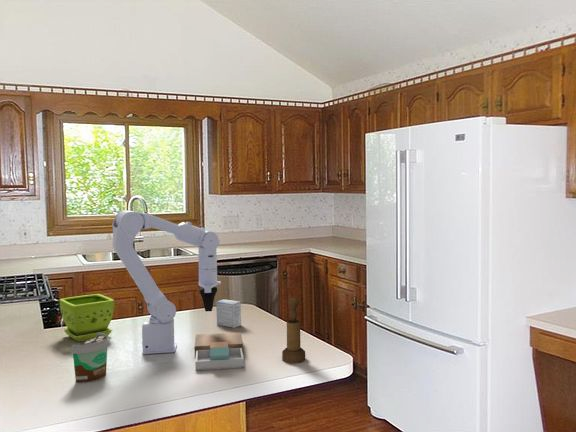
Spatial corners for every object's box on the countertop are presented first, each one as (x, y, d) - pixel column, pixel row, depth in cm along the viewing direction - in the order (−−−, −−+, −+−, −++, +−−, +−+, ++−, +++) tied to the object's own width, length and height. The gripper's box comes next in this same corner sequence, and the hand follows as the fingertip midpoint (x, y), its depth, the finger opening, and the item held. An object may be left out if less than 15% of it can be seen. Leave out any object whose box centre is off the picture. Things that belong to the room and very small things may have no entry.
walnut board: (194, 358, 150) (194, 346, 150) (195, 345, 162) (195, 334, 162) (243, 355, 152) (243, 343, 152) (241, 343, 164) (240, 332, 164)
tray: (195, 370, 140) (195, 361, 140) (196, 358, 149) (196, 350, 149) (243, 367, 142) (243, 358, 142) (241, 356, 151) (241, 347, 151)
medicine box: (241, 325, 185) (241, 301, 184) (233, 328, 181) (233, 303, 181) (224, 322, 189) (223, 299, 189) (216, 325, 185) (215, 301, 185)
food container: (94, 386, 130) (93, 346, 129) (72, 384, 131) (70, 345, 130) (119, 369, 142) (118, 333, 141) (99, 367, 143) (98, 332, 142)
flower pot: (73, 345, 163) (72, 305, 163) (59, 336, 174) (57, 298, 173) (116, 336, 173) (115, 298, 172) (100, 328, 183) (99, 292, 182)
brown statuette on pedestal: (288, 364, 144) (288, 300, 143) (278, 358, 149) (277, 296, 148) (309, 360, 147) (309, 297, 146) (298, 354, 152) (297, 293, 151)
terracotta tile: (210, 360, 145) (210, 353, 144) (210, 349, 150) (210, 342, 149) (228, 359, 146) (228, 352, 145) (227, 348, 150) (227, 341, 149)
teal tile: (210, 356, 144) (210, 364, 143) (210, 347, 141) (210, 356, 139) (228, 355, 145) (228, 363, 143) (228, 346, 142) (228, 355, 140)
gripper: (220, 271, 158) (221, 315, 159) (220, 264, 172) (221, 305, 173) (197, 272, 157) (198, 316, 158) (198, 265, 171) (199, 306, 172)
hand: (208, 310), depth 165 cm, fingers closed
